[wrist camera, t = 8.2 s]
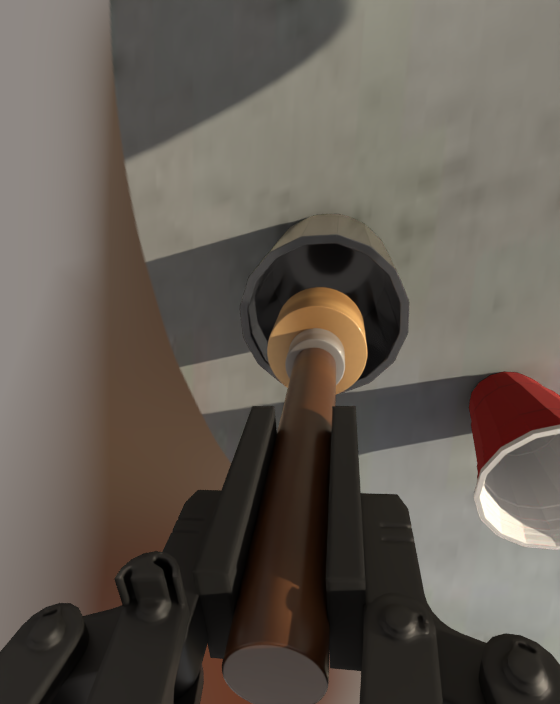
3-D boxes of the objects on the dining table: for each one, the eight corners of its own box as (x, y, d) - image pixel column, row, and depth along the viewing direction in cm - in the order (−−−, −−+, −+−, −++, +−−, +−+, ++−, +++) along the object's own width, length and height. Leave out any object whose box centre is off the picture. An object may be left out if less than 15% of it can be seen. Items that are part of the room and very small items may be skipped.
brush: (364, 284, 23) (420, 593, 7) (364, 368, 25) (408, 769, 9) (273, 288, 24) (117, 574, 7) (279, 369, 26) (169, 740, 9)
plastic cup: (441, 456, 41) (476, 561, 31) (436, 353, 37) (474, 432, 26) (566, 448, 39) (651, 558, 28) (575, 338, 35) (679, 417, 24)
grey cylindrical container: (391, 209, 33) (412, 229, 23) (388, 331, 37) (405, 393, 27) (263, 217, 35) (231, 240, 25) (273, 334, 39) (249, 394, 29)
